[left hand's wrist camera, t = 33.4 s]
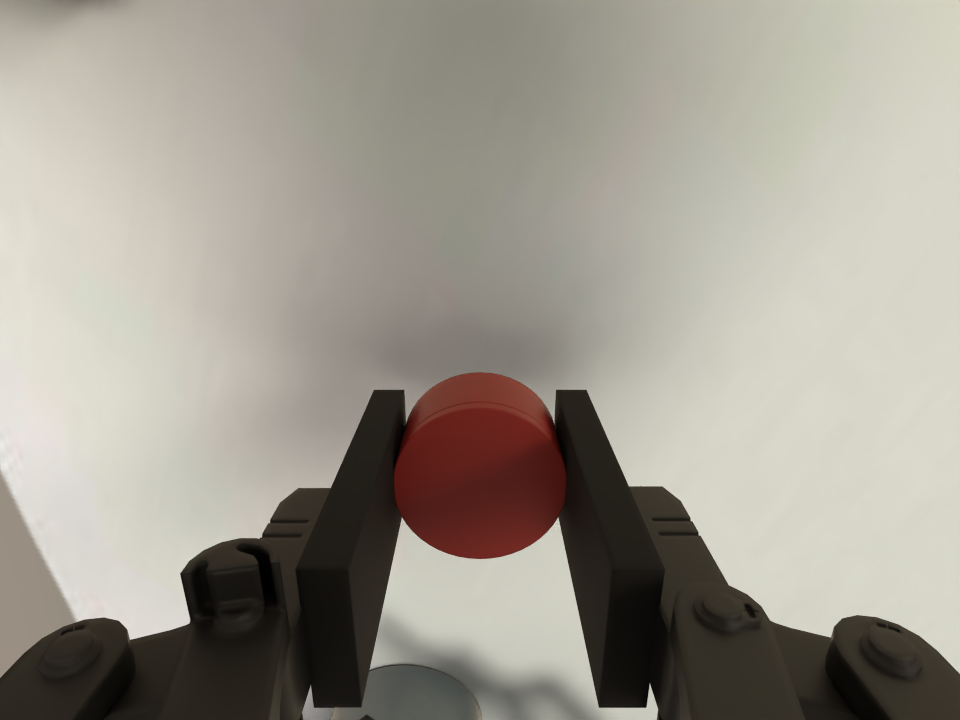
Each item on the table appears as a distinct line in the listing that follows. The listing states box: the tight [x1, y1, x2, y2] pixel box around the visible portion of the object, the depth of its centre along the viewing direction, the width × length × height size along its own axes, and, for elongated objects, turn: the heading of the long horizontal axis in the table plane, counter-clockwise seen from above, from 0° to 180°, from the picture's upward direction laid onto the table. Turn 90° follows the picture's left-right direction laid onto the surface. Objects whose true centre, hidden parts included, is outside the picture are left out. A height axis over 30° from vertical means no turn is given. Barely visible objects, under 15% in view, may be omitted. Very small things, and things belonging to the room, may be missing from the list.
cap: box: [394, 372, 567, 559], centre depth 14 cm, size 4×4×2 cm
